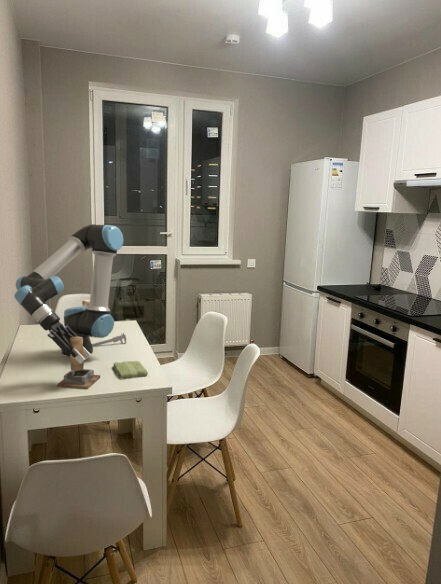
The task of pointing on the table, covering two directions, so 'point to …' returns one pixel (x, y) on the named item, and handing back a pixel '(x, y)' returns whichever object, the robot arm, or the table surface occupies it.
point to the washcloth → (129, 369)
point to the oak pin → (78, 345)
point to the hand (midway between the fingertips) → (85, 359)
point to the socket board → (79, 379)
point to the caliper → (112, 340)
